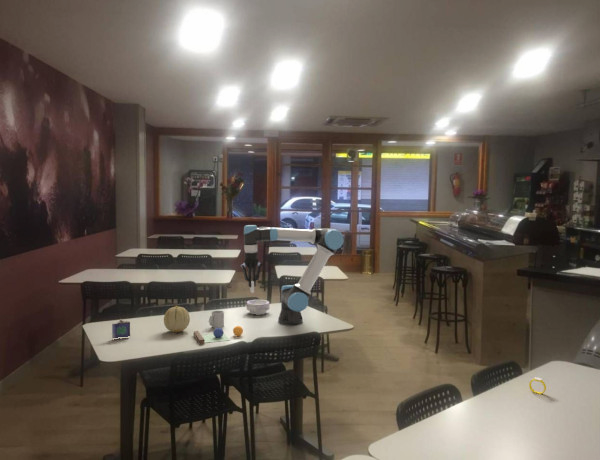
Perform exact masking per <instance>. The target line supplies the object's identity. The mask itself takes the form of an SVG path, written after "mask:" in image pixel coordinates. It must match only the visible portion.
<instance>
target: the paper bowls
mask: <svg viewBox="0 0 600 460" xmlns="http://www.w3.org/2000/svg"><path fill="white" fill-rule="evenodd" d="M246 310H247V311H248V312H249V313H250V314H251V315H253V314H256V315H255V316H262V315H265V314H266V313H267V311H269V310H270V301H269V300H265V299H250V300H247V301H246ZM261 314H262V315H261Z"/></svg>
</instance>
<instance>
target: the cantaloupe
mask: <svg viewBox="0 0 600 460" xmlns="http://www.w3.org/2000/svg"><path fill="white" fill-rule="evenodd" d="M190 318H191V317H190V313H189V311H188V310H187V309H186V308H185V307H183V306H178V305H176V304H174V306H173V307H170V308H168V310H166V311H165V313H164V316H163V323H164V324H163V325H164V327H165V328H166V329H167V330H168V331H169V332H171V333H176V334H177V333H180V332H184V330H186V329H187V328H188V326H189V325H190V321H191V319H190Z"/></svg>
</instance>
